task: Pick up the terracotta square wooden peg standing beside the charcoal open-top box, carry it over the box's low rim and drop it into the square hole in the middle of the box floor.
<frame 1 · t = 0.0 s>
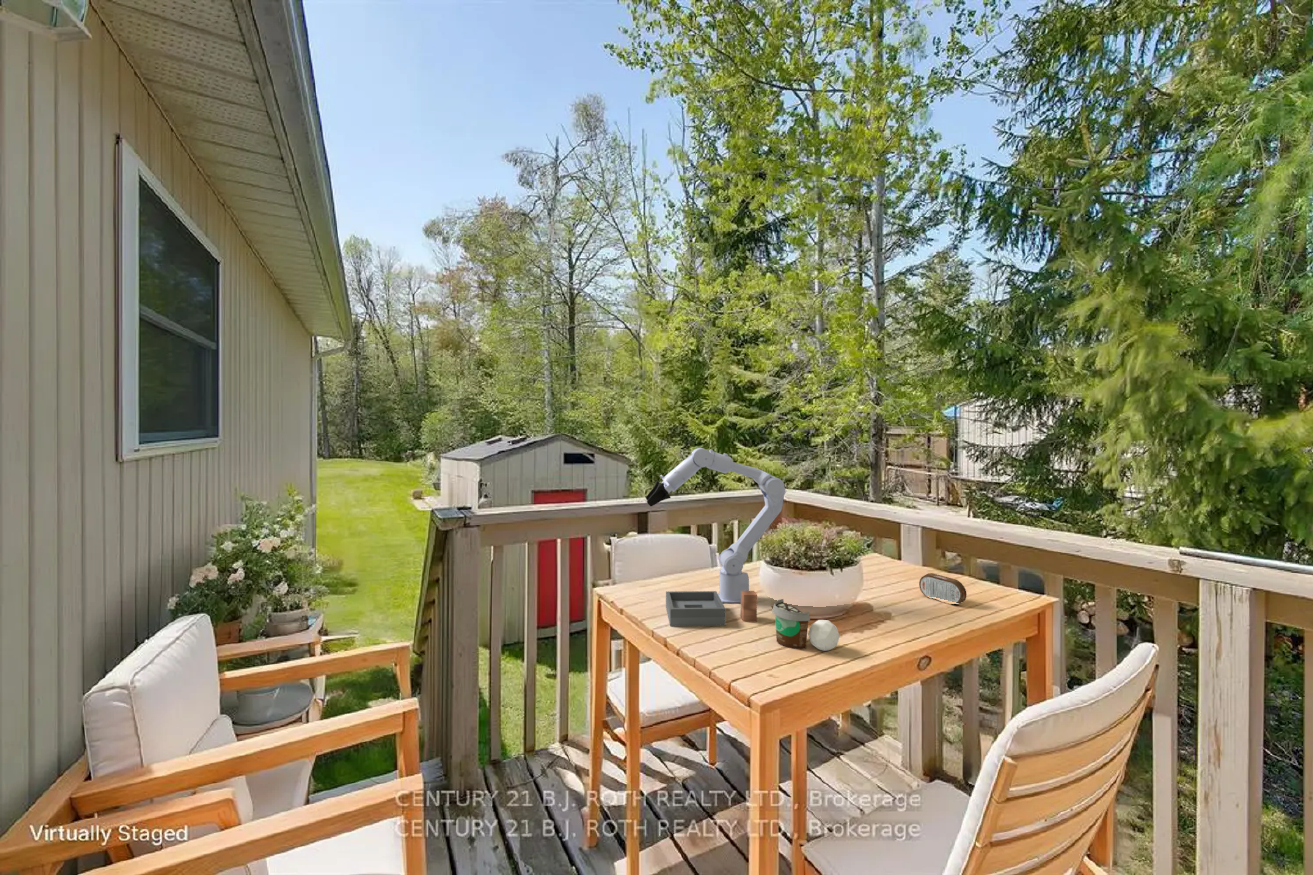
hand: (647, 502, 186), 32 cm above the table, tool tilted 50°, fingers open, 7 cm apart
tin: (941, 601, 190), on the table
hole box: (694, 615, 174), on the table
food container: (785, 643, 154), on the table
ball: (823, 649, 151), on the table
peg: (748, 619, 172), on the table
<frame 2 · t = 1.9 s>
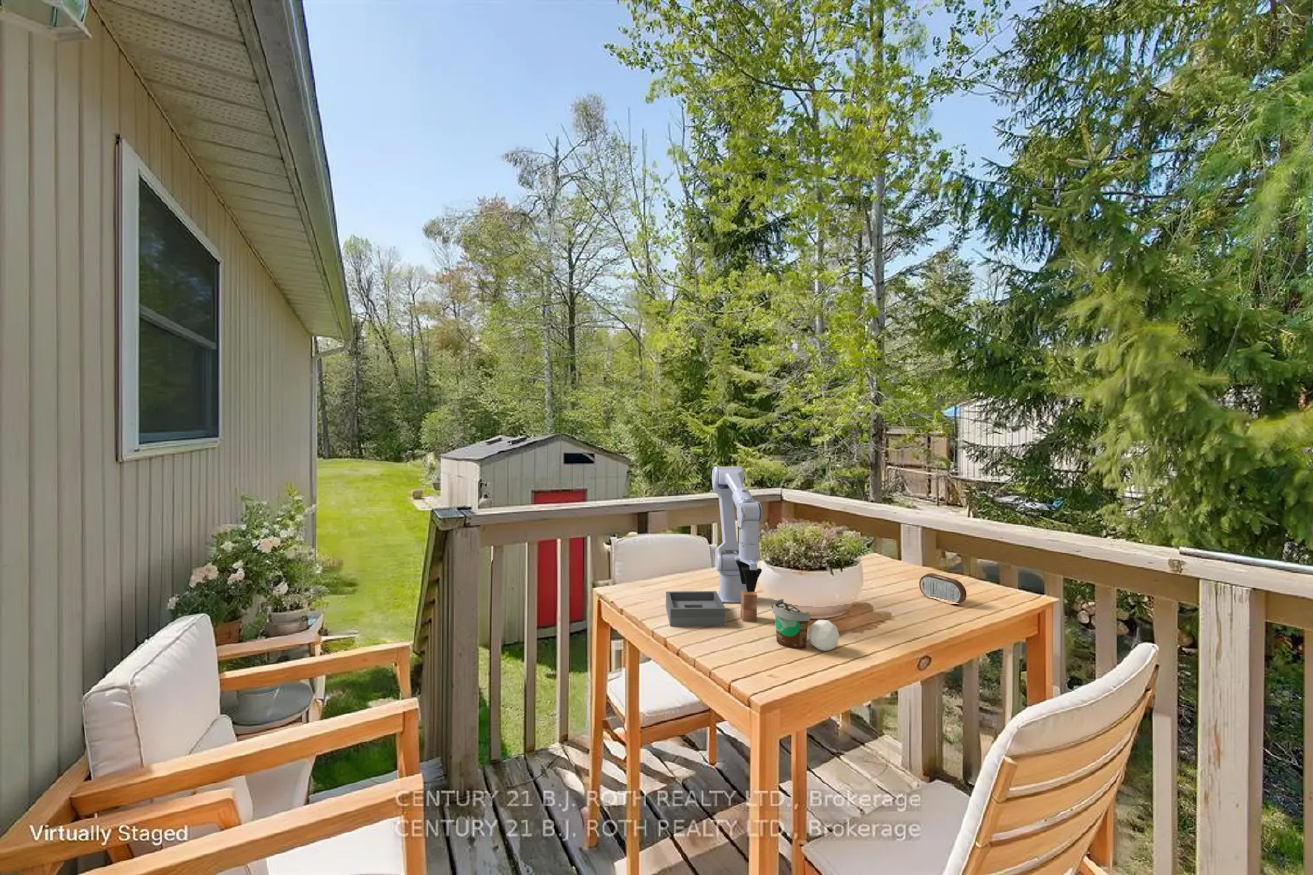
hand: (747, 587, 171), 10 cm above the table, tool pointing down, fingers open, 7 cm apart
nothing on the table moved.
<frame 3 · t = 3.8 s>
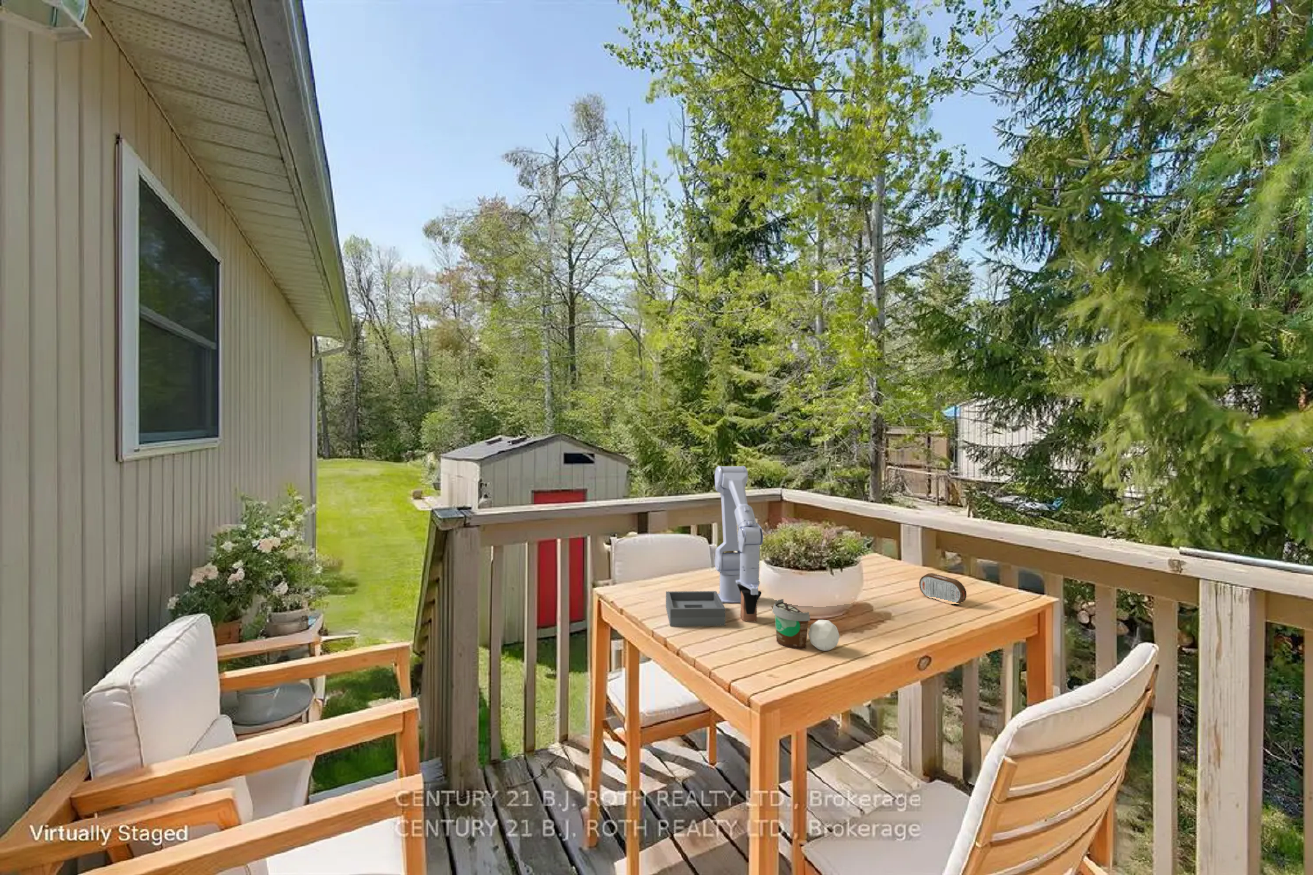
hand: (748, 610, 172), 2 cm above the table, tool pointing down, fingers closed on peg, 4 cm apart
peg: (748, 618, 172), on the table, touching gripper
everything else where it was.
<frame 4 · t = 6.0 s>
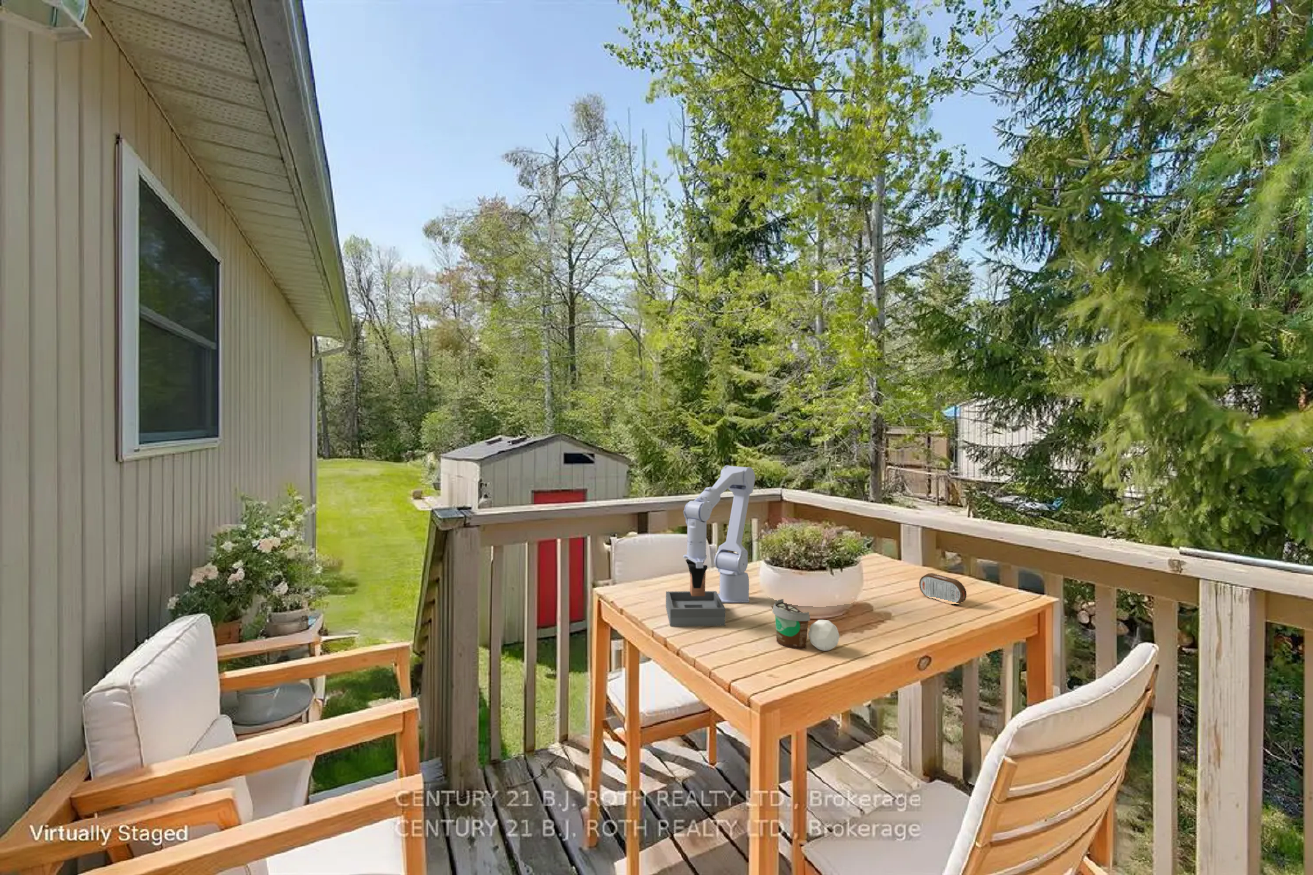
hand: (696, 585, 173), 9 cm above the table, tool pointing down, fingers closed on peg, 4 cm apart
peg: (697, 593, 173), point 7 cm above the table, touching gripper
everything else where it was.
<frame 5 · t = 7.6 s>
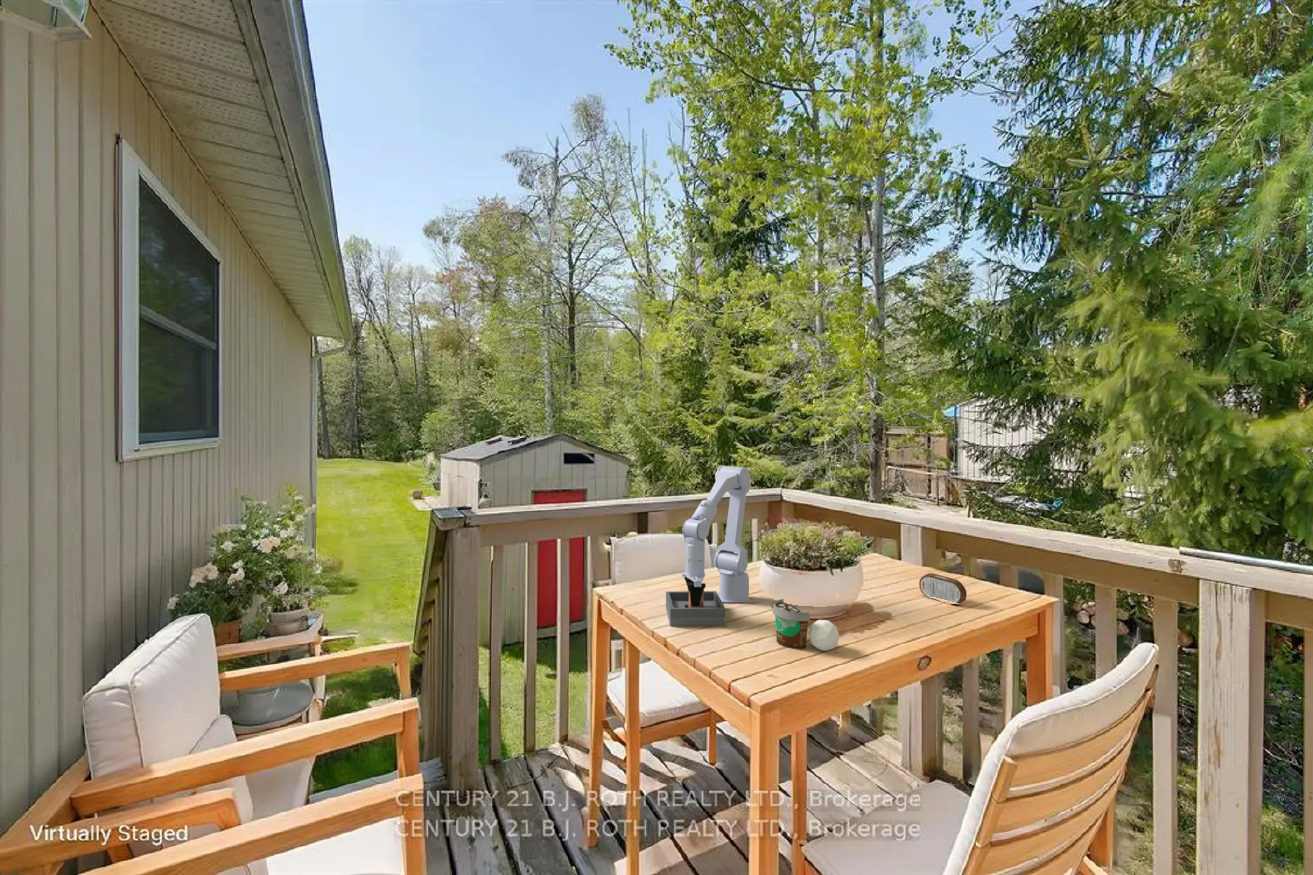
hand: (694, 603, 173), 4 cm above the table, tool pointing down, fingers closed on peg, 4 cm apart
peg: (695, 611, 174), point 1 cm above the table, touching gripper
everything else where it was.
when the fingers open (4 cm above the table, at t = 8.5 s): peg drops 1 cm, resting in hole box.
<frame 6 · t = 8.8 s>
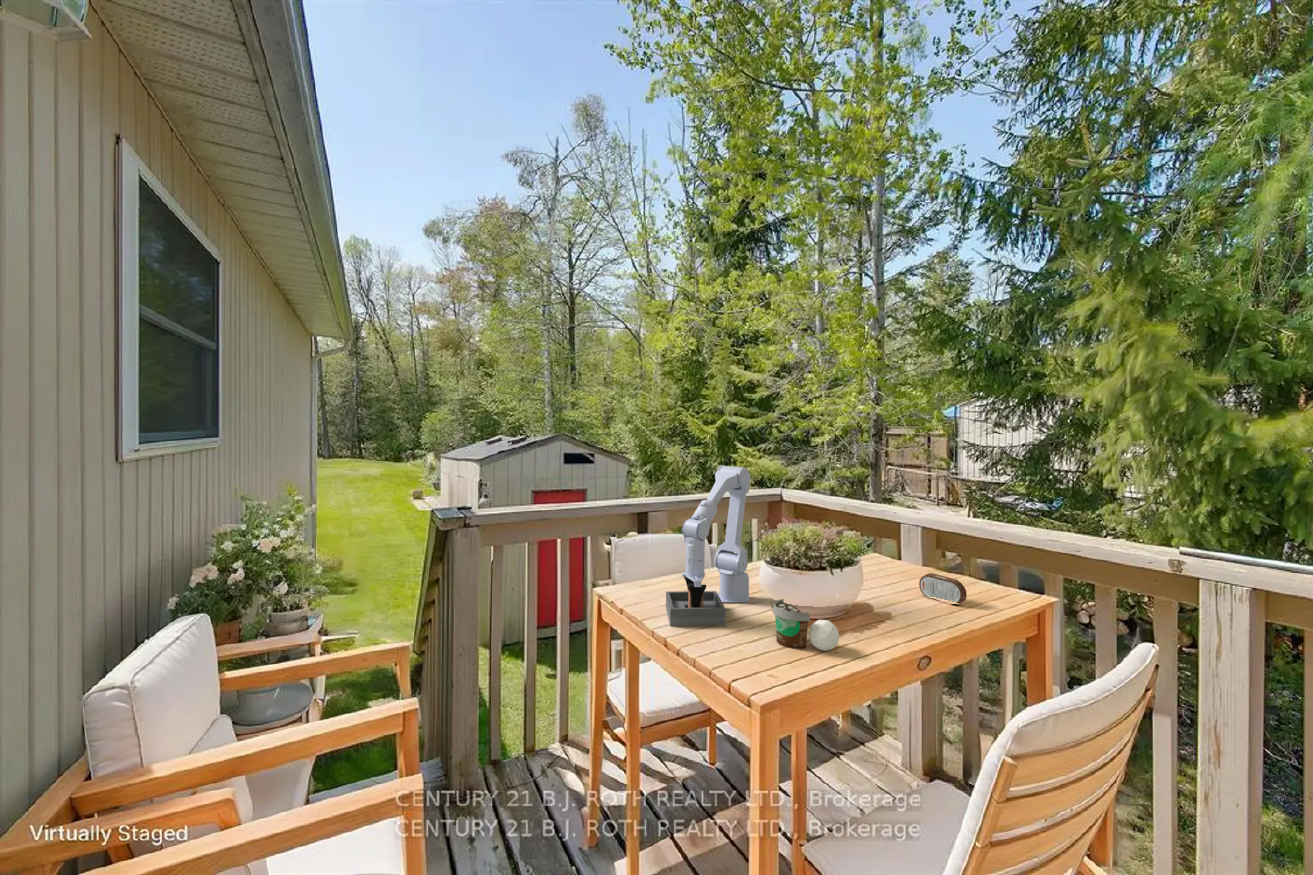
hand: (694, 603, 173), 4 cm above the table, tool pointing down, fingers open, 6 cm apart
peg: (695, 615, 174), resting in hole box
everything else where it was.
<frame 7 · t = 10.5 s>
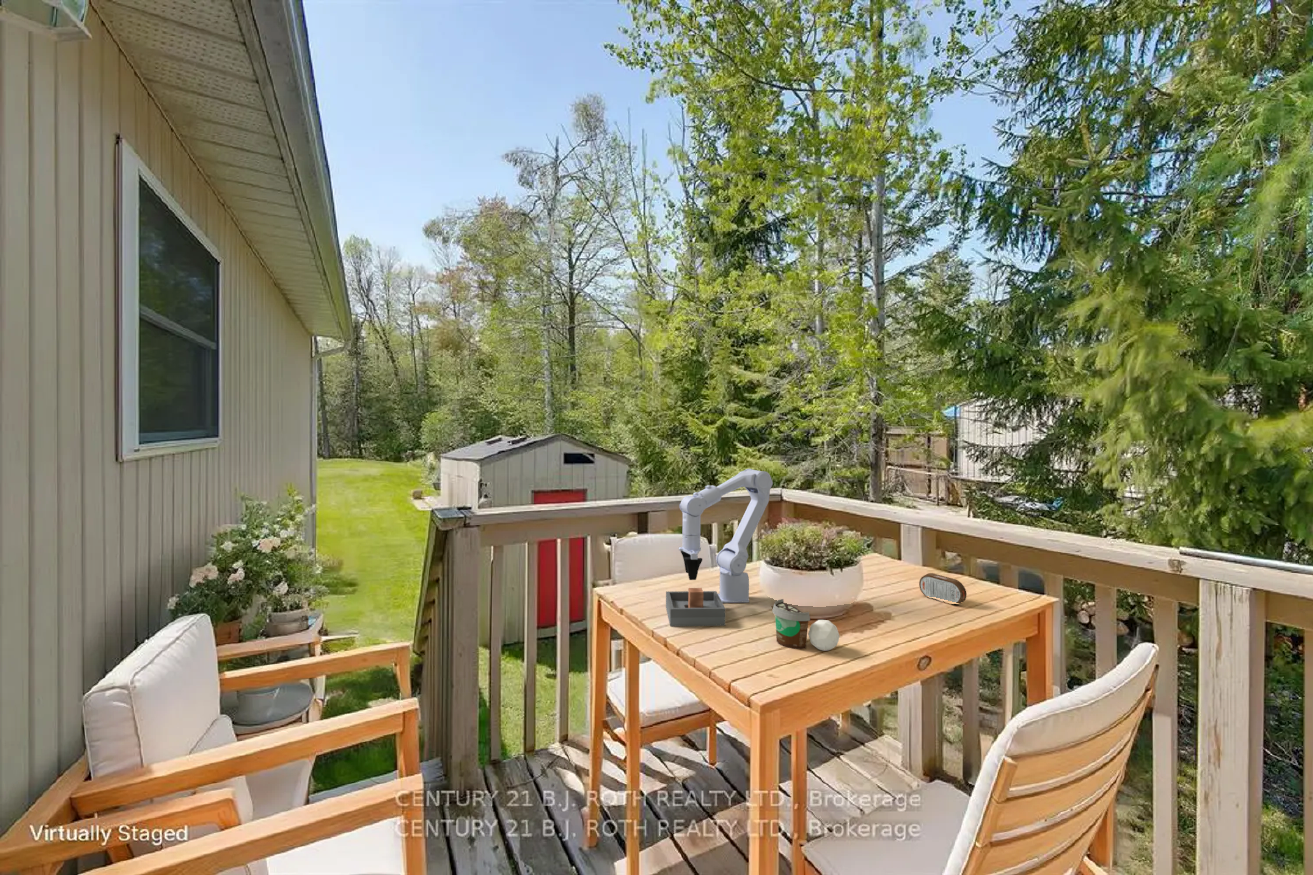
hand: (690, 576, 183), 9 cm above the table, tool pointing down, fingers open, 7 cm apart
nothing on the table moved.
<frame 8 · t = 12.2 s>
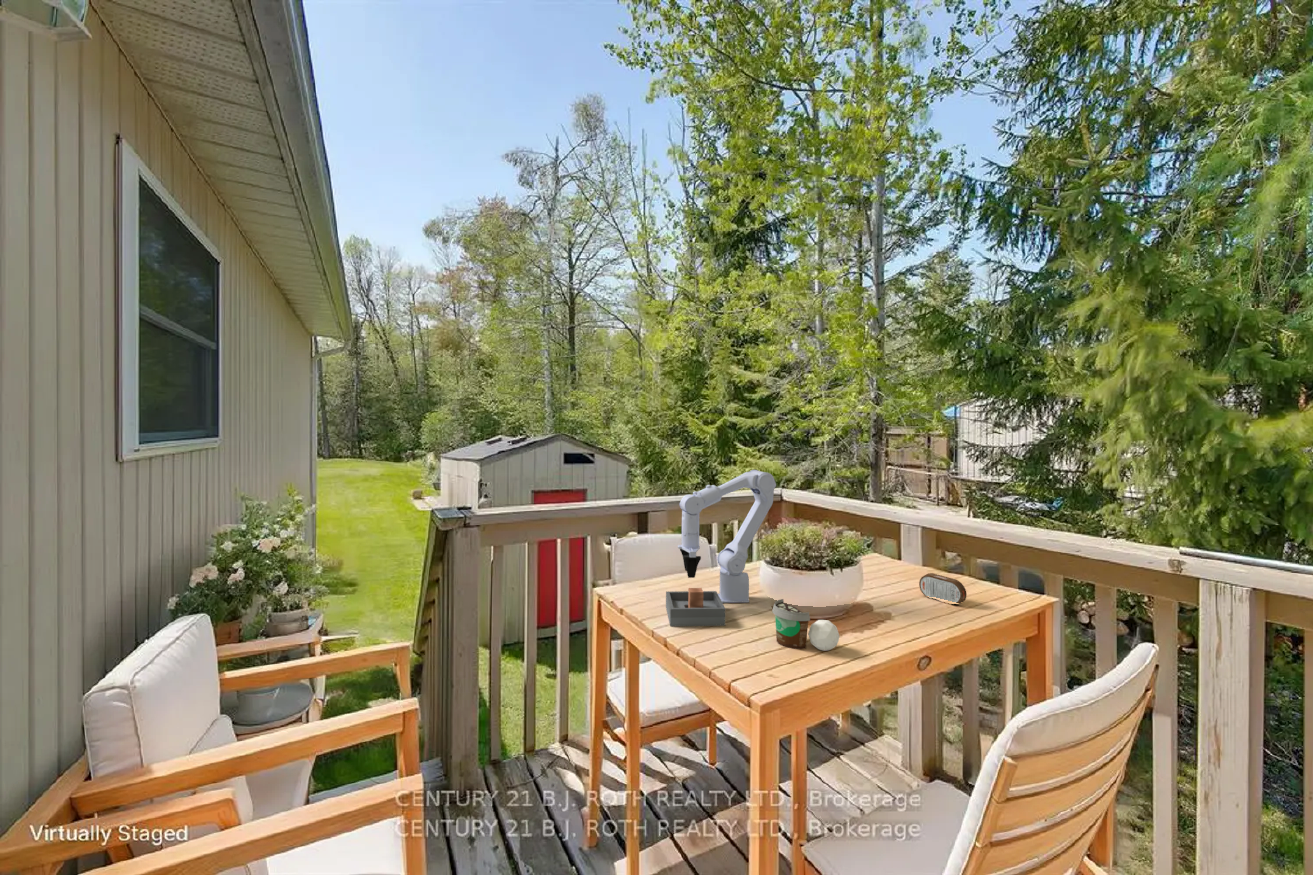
hand: (689, 573, 185), 9 cm above the table, tool pointing down, fingers open, 7 cm apart
nothing on the table moved.
at the end: peg 0.4 cm off-centre on the hole box, point 0.0 cm above the hole box's base; peg tilted 0°; the gripper is holding nothing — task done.
